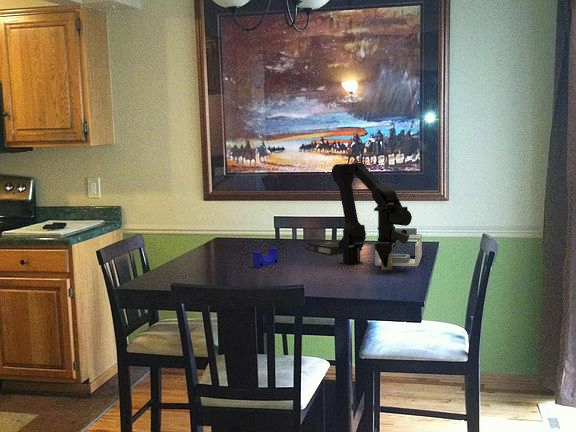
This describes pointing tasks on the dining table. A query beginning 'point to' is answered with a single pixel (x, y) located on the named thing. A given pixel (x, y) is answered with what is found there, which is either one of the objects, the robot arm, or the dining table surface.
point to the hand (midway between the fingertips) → (386, 265)
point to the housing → (403, 257)
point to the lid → (411, 233)
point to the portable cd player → (326, 247)
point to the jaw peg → (389, 266)
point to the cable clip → (265, 258)
